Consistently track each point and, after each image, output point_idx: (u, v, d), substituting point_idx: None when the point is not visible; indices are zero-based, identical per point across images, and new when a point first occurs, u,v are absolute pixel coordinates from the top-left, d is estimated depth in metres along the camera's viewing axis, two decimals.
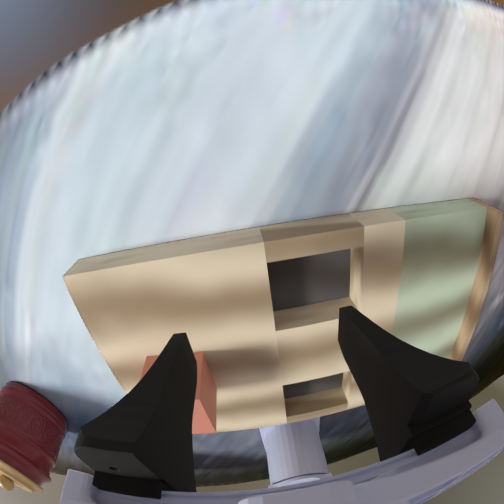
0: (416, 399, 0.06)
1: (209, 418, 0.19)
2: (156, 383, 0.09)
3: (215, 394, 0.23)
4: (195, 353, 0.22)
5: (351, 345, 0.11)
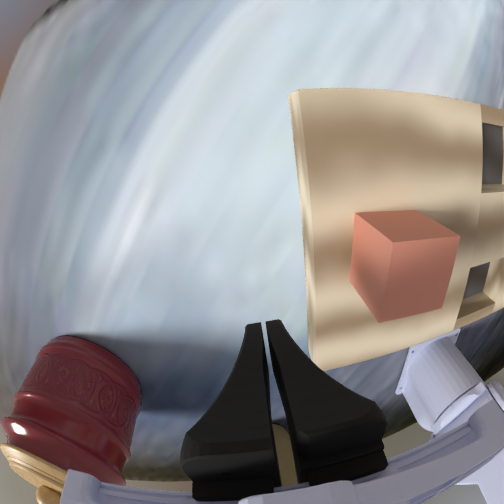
0: None
1: None
2: (253, 374, 0.09)
3: None
4: (410, 211, 0.17)
5: (273, 361, 0.11)
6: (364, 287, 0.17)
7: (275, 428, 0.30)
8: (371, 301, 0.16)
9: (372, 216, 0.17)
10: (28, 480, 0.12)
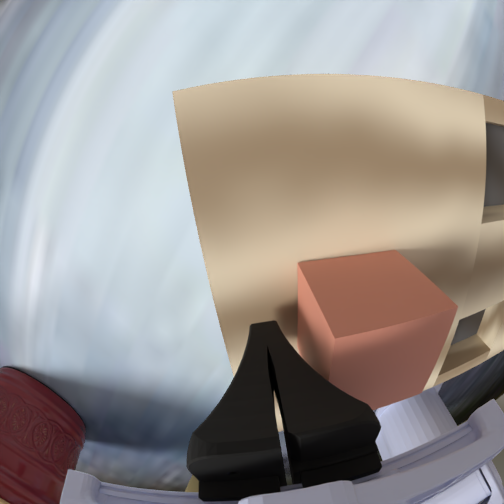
0: None
1: None
2: (259, 374, 0.09)
3: None
4: (386, 252, 0.12)
5: None
6: None
7: None
8: None
9: (322, 270, 0.12)
10: None
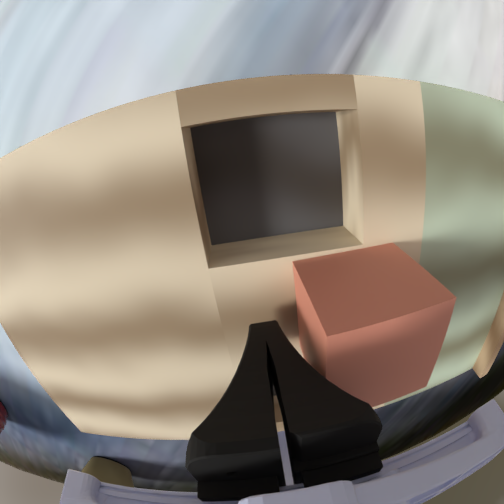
0: None
1: None
2: (258, 374, 0.09)
3: None
4: (383, 246, 0.12)
5: (269, 362, 0.11)
6: None
7: (109, 464, 0.25)
8: None
9: (317, 267, 0.12)
10: None
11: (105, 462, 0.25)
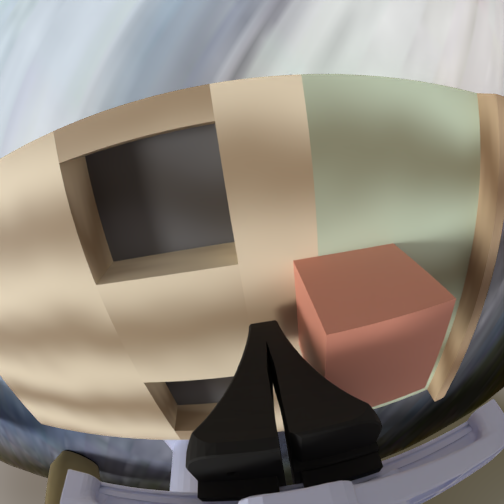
0: None
1: None
2: (258, 374, 0.09)
3: None
4: (384, 246, 0.12)
5: (269, 362, 0.11)
6: None
7: (77, 458, 0.25)
8: None
9: (317, 267, 0.12)
10: None
11: (73, 456, 0.25)
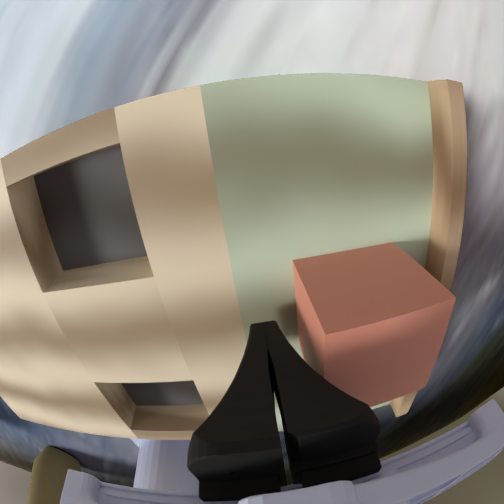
0: None
1: None
2: (259, 374, 0.09)
3: None
4: (383, 245, 0.12)
5: None
6: None
7: (58, 454, 0.25)
8: None
9: (316, 266, 0.12)
10: None
11: (55, 451, 0.25)
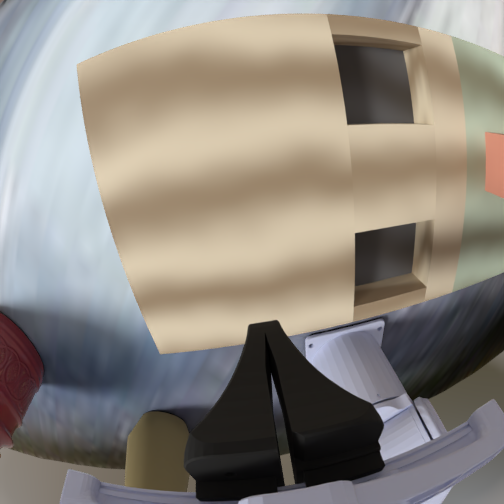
0: None
1: None
2: (256, 374, 0.09)
3: None
4: None
5: (271, 362, 0.11)
6: None
7: (167, 417, 0.28)
8: None
9: (498, 133, 0.14)
10: None
11: (162, 415, 0.28)
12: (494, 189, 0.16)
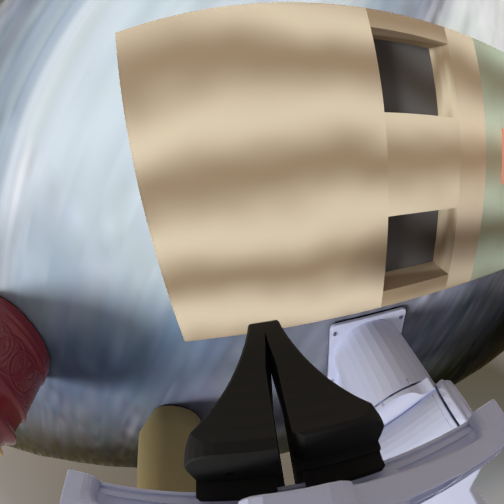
0: None
1: None
2: (256, 374, 0.09)
3: None
4: None
5: (271, 362, 0.11)
6: None
7: (181, 411, 0.27)
8: None
9: None
10: None
11: (176, 409, 0.28)
12: None
